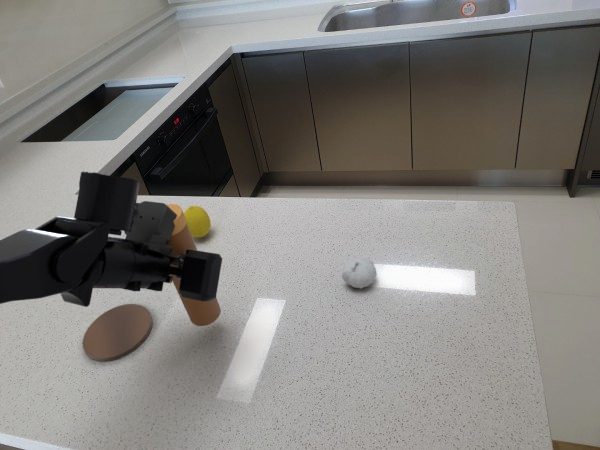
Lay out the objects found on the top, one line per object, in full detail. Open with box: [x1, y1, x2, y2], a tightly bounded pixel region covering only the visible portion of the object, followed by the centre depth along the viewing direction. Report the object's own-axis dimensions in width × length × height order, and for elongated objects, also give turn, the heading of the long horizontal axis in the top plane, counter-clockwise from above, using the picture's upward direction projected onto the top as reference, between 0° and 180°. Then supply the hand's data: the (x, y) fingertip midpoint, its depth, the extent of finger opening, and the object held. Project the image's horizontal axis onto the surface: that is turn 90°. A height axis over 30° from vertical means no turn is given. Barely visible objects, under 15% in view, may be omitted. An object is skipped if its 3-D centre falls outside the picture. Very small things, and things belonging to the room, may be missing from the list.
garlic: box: [341, 257, 378, 289], centre depth 79 cm, size 6×5×5 cm
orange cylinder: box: [166, 203, 222, 327], centre depth 68 cm, size 5×5×20 cm
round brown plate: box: [82, 303, 153, 362], centre depth 81 cm, size 12×12×1 cm
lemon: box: [183, 205, 212, 238], centre depth 97 cm, size 6×6×8 cm
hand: (194, 269), depth 70 cm, fingers closed on orange cylinder, 5 cm apart
